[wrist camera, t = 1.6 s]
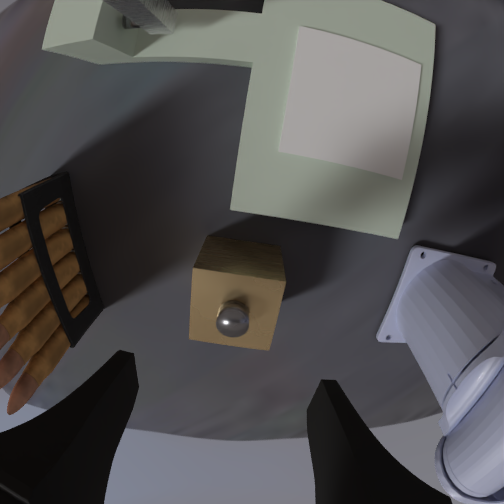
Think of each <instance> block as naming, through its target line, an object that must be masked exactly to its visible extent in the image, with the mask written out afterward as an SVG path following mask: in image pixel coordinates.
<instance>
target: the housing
mask: <svg viewBox="0 0 504 504" xmlns="http://www.w3.org/2000/svg"><path fill="white" fill-rule="evenodd" d="M285 285H286V277H285V271H284V265H283V260H282V254H281V248H280V246H275V245H269V244H262V243H255V242H249V241H242V240H235V239H228V238H222V237H215V236H208V235H207V237H206V239H205V242H204V244H203V246H202V248H201V251H200V253H199V255H198V257H197V260H196V262H195V264H194V267H193V274H192V290H191V307H190V327H189V339H192V340H198V341H204V342H210V343H216V344H223V345H230V346H237V347H245V348H252V349H261V350H269V349H270V345H271V341H272V337H273V333H274V329H275V326H276V322H277V318H278V313H279V309H280V305H281V301H282V297H283V293H284V289H285Z"/></svg>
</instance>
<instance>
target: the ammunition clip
mask: <svg viewBox="0 0 504 504" xmlns="http://www.w3.org/2000/svg"><path fill="white" fill-rule="evenodd" d="M43 208H45V210H43V211H41V210H42V209H43ZM40 211H41V212H40ZM24 218H25V220H24V221H23V222H21V220H22V219H24ZM8 227H9V228H10V229H9V230H7V231H6V232H4V233H2V234H1V235H0V270H2V269H3V268H5V267H6V266H7V265H9V264H10V263H11V262H13V261H14V260H15V259H17V258H18V259H17V260H16V261H14V262H13V263H12V264H10V265H9V266H8V267H7V268H5V269H4V270H3V271H1V272H0V308H1V307H2V306H4V305H5V304H7V303H9V302H10V303H9V304H8V306H7V307H6V309H5V310H4V312H3V313H2V315H1V316H0V350H1V349H2V347H3V346H4V345H5V344H6V343H7V342H8V341H9V340H10V339H11V338H12V337H13V336H14V335H15V334H16V333H18V332H19V331H20V332H19V333H18V335H17V337H16V339H15V341H14V342H13V344H12V345H11V346H10V348H9V349H8V351H7V353H6V354H5V355H4V356H3V358H2V359H1V361H0V389H1V388H2V387H4V386H5V385H6V384H7V383H8V382H9V381H11V380H12V378H13V377H14V376H15V375H16V374H17V373H18V372H19V370H20V369H21V368H22V367H23V366H24V365H25V364H26V362H27V361H28V360H29V359H30V360H29V363H28V365H27V366H26V368H25V369H24V371H23V373H22V375H21V376H20V378H19V379H18V381H17V383H16V384H15V386H14V388H13V390H12V393H11V395H10V398H9V402H8V406H7V413H8V414H9V415H11V414H14V413H15V412H17V411H18V410H19V409H20V408H22V407H23V406H24V405H25V404H26V403H27V401H28V400H29V399H30V398H31V397H32V395H33V394H34V392H35V391H36V389H37V388H38V387H39V386H40V384H41V383H42V382H43V380H44V379H45V378H46V377H47V376H48V375H49V374H50V373H51V372H52V371H53V370H54V368H55V367H56V365H57V364H58V362H59V361H60V359H61V358H62V357H63V355H64V354H65V352H66V351H67V349H68V348H69V347H70V348H74V347H75V345H76V344H77V343H78V341H79V340H80V339H81V337H82V336H83V335H84V333H85V332H86V331H87V329H88V328H89V327H90V326H91V324H92V323H93V322H94V321H95V319H96V318H97V317H98V316H99V314H100V313H101V312H102V311H103V308H104V307H103V304H102V301H101V298H100V295H99V292H98V289H97V286H96V283H95V280H94V277H93V274H92V270H91V267H90V264H89V260H88V257H87V253H86V250H85V246H84V242H83V238H82V234H81V230H80V226H79V222H78V218H77V213H76V209H75V204H74V199H73V194H72V189H71V183H70V177H69V172H63V173H59V174H56V175H52V176H49V177H47V178H44V179H42V180H40V181H38V182H36V183H34V184H31V185H29V186H27V187H25V188H23V189H21V190H19V191H17V192H14V193H12V194H10V195H7V196H5V197H3V198H1V199H0V232H1V231H2V230H4V229H6V228H8ZM50 235H51V236H50ZM47 237H48V238H47ZM32 247H33V248H32ZM31 248H32V249H31ZM29 249H31V250H29ZM70 345H71V346H70Z"/></svg>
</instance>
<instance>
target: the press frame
mask: <svg viewBox="0 0 504 504" xmlns="http://www.w3.org/2000/svg"><path fill="white" fill-rule="evenodd" d="M175 10H176V11H177V13H178V16H177V20H176V25H175V29H174V34H152V35H150V34H149V33H148V32H146V31H145V30H144V29H142V28H135V29H124V28H123V26H122V17H123V14H122V13H120V12H119V11H117V10H116V9H115V8H113V7H112V6H110V5H109V4H107V3H106V2H104V1H103V0H55V2H54V5H53V8H52V12H51V15H50V18H49V22H48V26H47V29H46V33H45V37H44V42H43V46H42V50H46V51H51V52H55V53H59V54H63V55H67V56H71V57H75V58H78V59H82V60H86V61H89V62H93V63H96V64H99V65H103V64H115V63H131V62H193V63H210V64H222V65H232V66H241V67H250V68H252V70H251V76H250V82H249V88H248V94H247V100H246V106H245V112H244V119H243V125H242V131H241V138H240V144H239V151H238V157H237V164H236V171H235V178H234V185H233V192H232V199H231V206H230V210H234V211H241V212H247V213H254V214H260V215H267V216H273V217H279V218H286V219H292V220H298V221H304V222H309V223H315V224H321V225H327V226H332V227H338V228H343V229H349V230H354V231H359V232H364V233H370V234H375V235H380V236H385V237H390V238H395V239H398V237H399V234H400V231H401V228H402V224H403V221H404V217H405V214H406V210H407V207H408V203H409V199H410V195H411V192H412V188H413V184H414V179H415V175H416V171H417V167H418V162H419V157H420V153H421V148H422V143H423V137H424V132H425V126H426V120H427V114H428V107H429V100H430V92H431V84H432V74H433V63H434V49H435V24H433V23H431V22H429V21H427V20H425V19H423V18H421V17H419V16H417V15H415V14H413V13H410V12H408V11H406V10H403V9H401V8H399V7H396V6H394V5H391V4H389V3H386V2H384V1H381V0H264V5H263V10H262V14H260V13H251V12H242V11H229V10H212V9H175Z"/></svg>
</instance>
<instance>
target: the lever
mask: <svg viewBox="0 0 504 504" xmlns="http://www.w3.org/2000/svg"><path fill="white" fill-rule="evenodd" d="M103 1H104V2H106V3H107V4H109V5H110V6H112V7H113V8H115V9H116V10H117V11H119V12H120V13H122V14H123V17H122V26H123V28H124V29H135V28H142V29H144V30H145V31H146V32H148V33H149V34H150V35H152V34H174V29H175V25H176V20H177V16H178V13H177V11H176V10H175V9H174V8H173V6H172V5H171V4H170V2H169V1H168V0H103Z"/></svg>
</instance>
